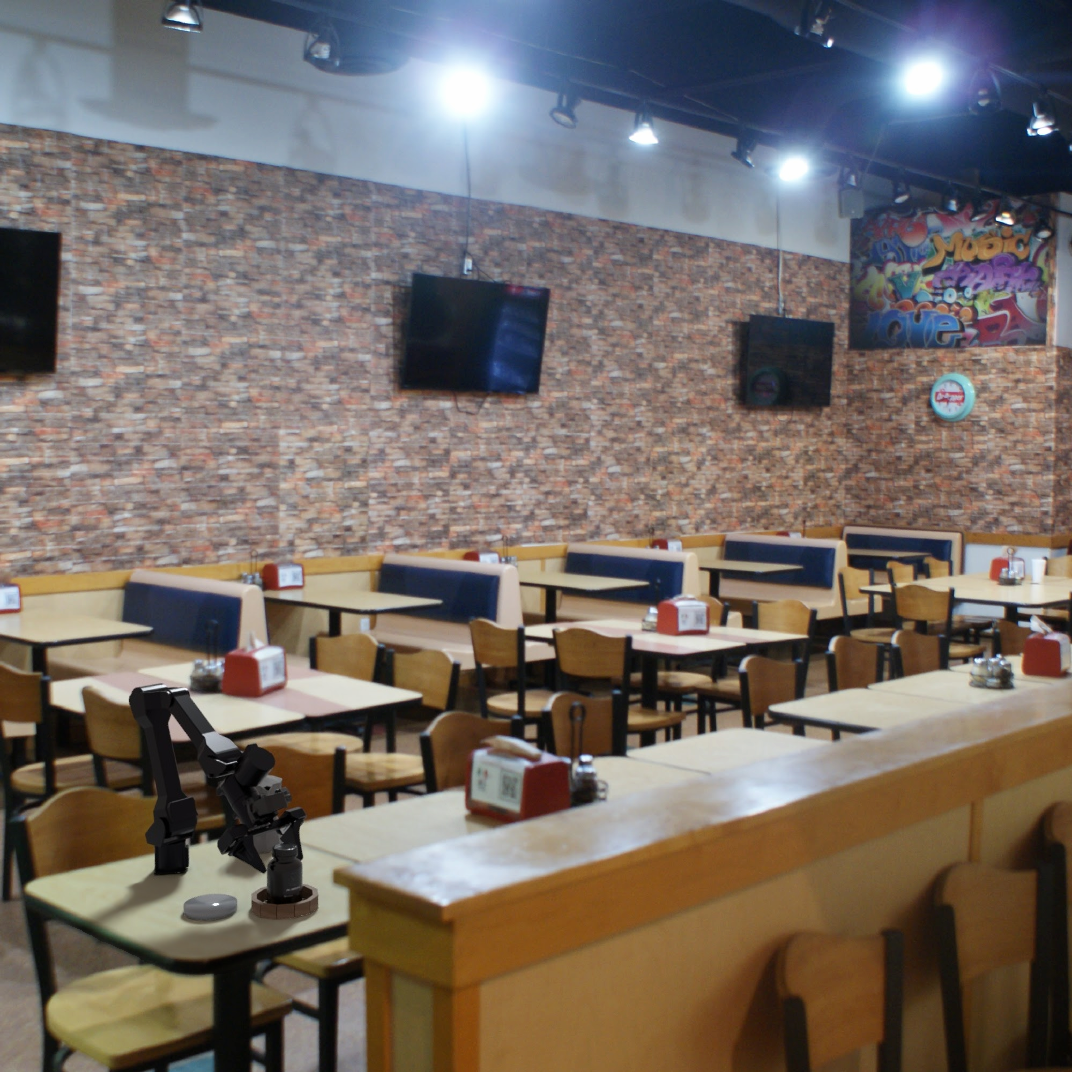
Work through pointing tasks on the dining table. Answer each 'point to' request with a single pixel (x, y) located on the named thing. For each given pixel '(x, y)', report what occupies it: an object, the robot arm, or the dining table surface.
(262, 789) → the coffeepot
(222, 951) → the dining table surface
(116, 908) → the dining table surface
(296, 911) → the ring holder
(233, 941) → the dining table surface
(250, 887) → the dining table surface
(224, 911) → the coaster
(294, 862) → the supplement bottle
